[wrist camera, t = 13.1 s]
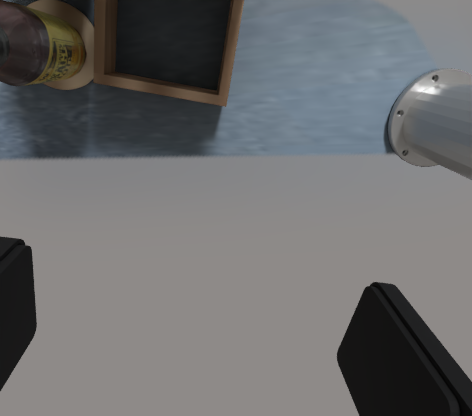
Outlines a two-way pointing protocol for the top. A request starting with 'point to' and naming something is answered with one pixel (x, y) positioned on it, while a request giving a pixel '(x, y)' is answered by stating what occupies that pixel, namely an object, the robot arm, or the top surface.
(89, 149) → the top surface
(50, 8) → the disc
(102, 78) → the wooden open box
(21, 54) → the sauce bottle
